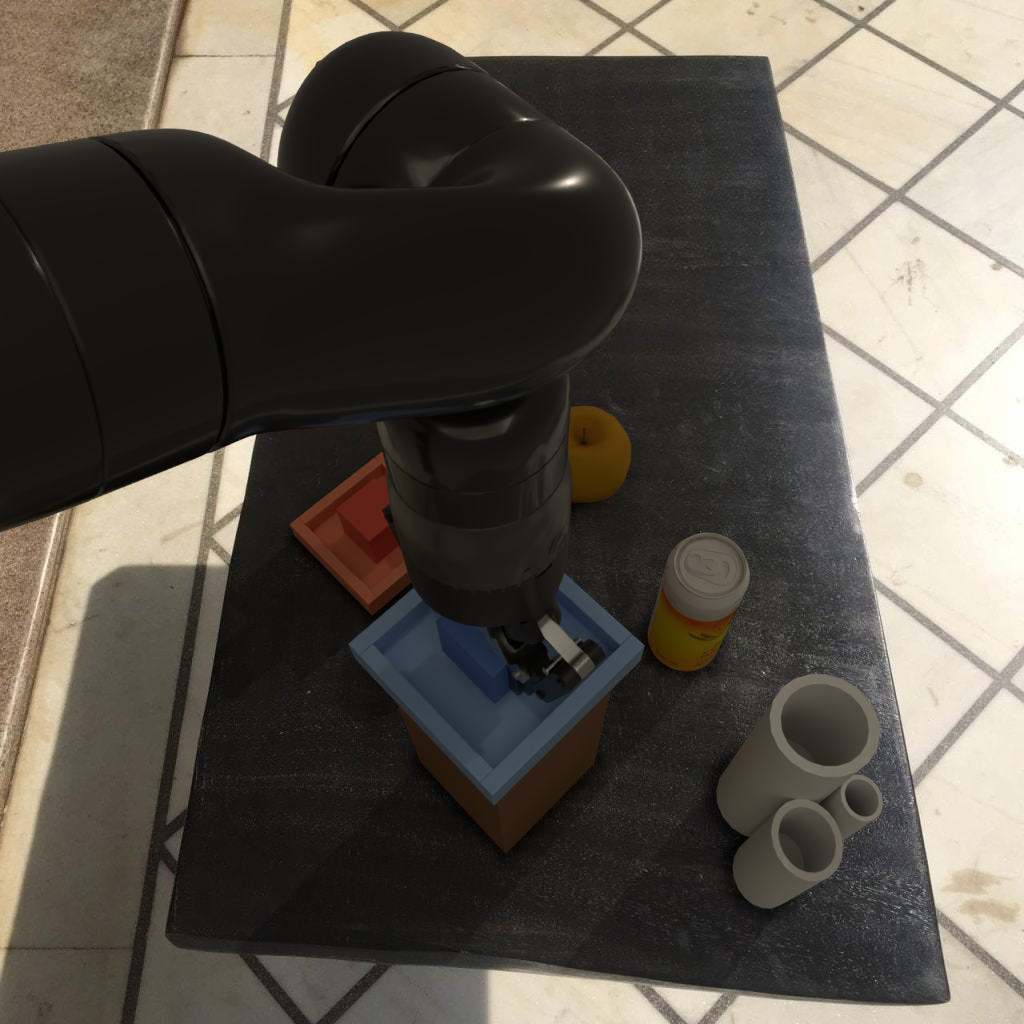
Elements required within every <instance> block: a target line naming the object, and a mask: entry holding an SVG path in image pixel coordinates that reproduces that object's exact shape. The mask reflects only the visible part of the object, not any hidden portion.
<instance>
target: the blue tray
mask: <svg viewBox="0 0 1024 1024" xmlns="http://www.w3.org/2000/svg"><path fill="white" fill-rule="evenodd" d="M555 599H556V601H557V603H558V605H559V607H560V610H561V613H562V620H561V623H560V625H559V626H560V627H561V628H562V629H563V631H564V632H565V633H566V634H567V635H568V636H569V637H570V638H571V639H573V638H574V637H576V636H579V637H580V638H581V639H582V640H583V642H584V641H586V640H587V639H591V640H593V641H595V642H596V643H598V644H599V645H600V646H601V647H602V649H603V651H604V653H605V655H606V658H605V659H604V660H603V661H602V662H601V663H599V664H598V665H597V666H596V667H595V668H594V669H593V670H592V671H591V672H590V673H589V674H588V675H587V676H586V677H585V678H584V679H583V680H582V681H581V682H580V683H579V684H578V685H577V686H576V687H575V688H574V689H573V690H572V691H571V692H569V693H567V694H566V695H564V696H562V697H560V698H558V699H556V700H554V701H552V702H550V703H546V702H544V701H543V700H540V699H539V698H538V697H537V696H536V694H535V692H534V693H533V694H532V695H531V696H528V695H527V694H526V693H525V692H523V693H522V694H520V695H519V696H517V695H516V694H515V693H514V692H513V691H512V690H510V691H509V692H508V693H506V694H505V695H504V696H503V697H502V698H501V699H500V700H499V701H498V702H497V703H494V702H493V701H492V700H491V699H490V698H489V697H488V696H487V695H486V694H485V693H484V692H483V691H482V690H481V689H480V688H479V687H478V686H477V685H476V684H475V683H474V682H473V681H472V680H471V679H470V678H469V677H468V676H467V675H466V674H465V673H464V672H463V671H462V670H461V669H460V668H459V667H458V666H457V665H456V664H455V663H454V662H453V661H452V660H451V659H450V658H449V657H448V656H447V655H446V654H445V653H444V652H443V651H442V647H441V643H440V638H439V634H438V629H437V625H436V621H437V620H438V619H439V618H440V617H441V615H440V614H438V613H437V612H435V611H434V610H433V609H431V608H430V607H429V606H428V605H427V604H426V603H425V602H424V601H423V600H422V599H421V597H420V596H419V595H418V594H417V592H416V590H415V589H414V587H413V588H412V589H411V590H409V591H408V592H407V593H405V595H403V597H401V598H400V599H399V600H397V601H396V602H395V603H394V604H393V605H392V606H391V607H390V608H388V609H387V610H386V611H385V612H384V613H383V614H381V615H380V616H379V617H378V618H377V619H376V620H374V621H373V622H372V623H371V624H369V626H367V627H366V628H365V629H364V630H363V631H361V632H360V633H359V634H358V635H357V636H356V637H354V638H353V639H352V640H351V641H350V642H349V643H348V647H349V649H350V651H351V653H352V655H353V658H354V659H355V660H356V661H357V663H358V664H360V665H361V667H362V668H363V669H364V670H365V671H366V672H367V673H368V674H369V675H370V676H371V677H372V678H373V679H374V680H375V681H376V683H377V684H378V685H379V686H380V687H381V688H382V689H383V690H384V691H385V692H386V693H387V694H388V695H389V696H390V697H391V698H392V699H393V701H394V702H395V703H396V705H397V707H398V710H399V712H400V715H401V717H402V719H403V722H404V725H405V727H406V730H407V733H408V735H409V736H410V739H411V742H412V744H413V747H414V749H415V752H416V755H417V757H418V759H419V762H420V764H421V765H423V767H424V768H425V769H426V770H427V771H428V772H429V773H430V774H431V775H432V776H433V778H434V779H435V780H436V781H437V782H438V783H439V784H440V785H441V787H443V788H444V789H445V790H446V791H447V793H448V794H449V795H450V796H451V797H452V798H453V799H454V800H455V801H456V802H457V803H458V804H459V805H460V807H461V808H462V809H463V810H464V811H465V812H466V813H467V814H468V815H469V816H470V817H471V818H472V820H474V822H475V823H476V824H477V825H478V826H479V827H480V828H481V829H482V831H484V832H485V834H486V835H488V837H489V838H490V839H491V840H492V841H493V842H494V844H496V845H497V846H498V848H500V850H501V851H502V852H503V853H504V854H507V853H508V852H509V851H510V850H511V849H512V848H513V847H514V846H515V845H516V844H517V843H518V842H519V841H520V840H521V839H522V838H523V837H524V836H525V835H526V834H527V833H528V832H529V831H530V830H531V829H532V828H533V827H534V826H535V825H536V824H537V823H538V822H539V821H540V820H541V819H542V818H543V817H544V815H546V814H547V813H548V812H549V810H551V808H552V807H554V805H556V803H557V802H559V801H560V800H561V798H562V797H563V796H564V795H565V794H566V793H567V792H568V791H570V789H571V788H572V787H573V786H574V785H575V784H576V783H577V782H578V781H579V780H580V779H581V778H582V777H583V776H584V775H585V774H586V773H587V772H588V771H589V770H590V769H591V768H592V767H593V766H594V765H595V763H596V758H597V753H598V749H599V744H600V739H601V734H602V729H603V725H604V720H605V716H606V713H607V712H606V711H607V706H608V701H609V696H610V693H611V691H612V690H613V689H614V688H615V686H617V685H618V684H619V683H620V682H621V681H622V680H623V679H624V677H626V676H627V675H628V674H629V673H630V672H631V671H632V670H633V669H634V668H635V667H636V666H637V665H638V664H639V663H640V662H641V660H642V656H643V653H644V649H645V645H644V644H643V643H642V642H641V641H640V640H639V639H638V638H637V637H636V636H634V635H633V634H632V633H631V632H630V630H628V629H627V628H626V627H624V626H623V625H622V624H621V623H620V622H619V621H618V620H617V619H616V618H615V617H613V616H612V615H611V614H610V613H609V612H608V611H607V610H605V608H603V607H602V606H601V605H600V603H598V602H596V600H595V599H594V598H593V597H591V596H590V595H589V594H588V593H586V591H584V590H583V589H582V588H581V587H580V586H579V585H578V584H577V583H576V582H575V581H574V580H572V579H571V578H570V577H569V576H568V575H567V574H566V573H564V576H563V579H562V581H561V584H560V586H559V589H558V591H557V593H556V596H555Z"/></svg>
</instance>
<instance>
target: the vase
mask: <svg viewBox="0 0 1024 1024" xmlns="http://www.w3.org/2000/svg"><path fill="white" fill-rule="evenodd" d="M880 737H881V729H880V723H879V717H878V714H877V712H876V710H875V708H874V707H873V704H872V703H871V701H870V699H869V698H868V697H867V696H866V695H865V694H864V693H863V692H862V691H861V690H860V689H859V688H858V687H857V686H855V685H853V684H851V683H850V682H849V681H846V680H845V679H843V678H841V677H836V676H834V675H829V674H826V673H823V674H819V673H817V674H816V673H813V674H812V673H810V674H809V673H808V674H806V675H802V676H799V677H795V678H793V679H792V680H791V681H789V682H788V683H786V684H785V685H784V686H782V687H781V688H780V690H779V691H778V692H777V694H776V695H775V697H774V698H773V699H772V701H771V703H770V704H769V706H768V707H767V709H766V710H765V711H764V713H763V714H762V716H761V717H760V719H759V720H758V722H757V723H756V725H755V726H754V727H753V728H752V730H751V732H750V733H749V734H748V736H747V738H746V739H745V740H744V742H743V743H742V745H741V746H740V748H739V749H738V751H737V752H736V753H735V755H734V756H733V758H732V759H731V761H730V762H729V764H728V765H727V767H726V768H725V770H724V771H723V772H722V774H721V776H720V777H719V779H718V783H717V786H716V790H715V791H716V804H717V806H718V809H719V812H720V814H721V816H722V818H723V819H724V820H725V821H726V823H727V824H728V825H729V826H730V827H731V828H732V829H733V830H735V831H736V832H738V834H740V835H742V836H745V837H748V838H747V839H746V840H745V841H744V842H743V843H742V844H741V845H740V846H739V847H738V849H737V850H736V852H735V854H734V856H733V862H732V874H733V875H732V876H733V880H734V882H735V884H736V887H737V889H738V891H739V892H740V893H741V895H742V896H743V898H744V899H745V900H746V901H748V902H749V903H750V904H752V905H753V906H756V907H758V908H760V909H774V908H777V907H779V906H782V905H783V904H785V903H787V902H789V901H790V900H792V899H794V898H795V897H797V896H799V895H801V894H803V893H804V892H806V891H807V890H809V889H811V888H813V887H815V886H816V885H818V884H820V883H821V882H823V881H824V880H827V879H829V878H830V877H831V876H832V875H833V874H834V873H835V872H836V871H838V869H839V867H840V864H841V862H842V861H843V853H844V843H843V842H844V841H845V840H846V839H848V838H849V837H851V836H852V835H854V834H855V833H857V832H858V831H860V830H861V829H862V828H864V827H866V826H867V825H869V824H870V823H872V822H873V821H875V820H876V819H877V818H878V817H879V816H880V815H881V814H882V813H881V812H882V811H883V806H884V800H883V795H882V792H881V790H880V788H879V786H878V785H877V784H876V783H875V781H873V780H872V779H871V778H869V777H868V776H866V775H862V774H856V773H858V772H859V771H860V770H862V769H863V768H864V767H865V766H866V765H867V764H868V763H870V762H871V760H872V759H873V756H874V755H875V753H876V752H877V750H878V747H879V741H880Z"/></svg>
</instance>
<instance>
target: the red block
mask: <svg viewBox="0 0 1024 1024" xmlns="http://www.w3.org/2000/svg"><path fill="white" fill-rule="evenodd" d="M388 504H389V498H388V493H387V488H386V487H384V486H383V485H382V484H381V483H380V482H379V481H378V480H377V479H376V478H374V479H373V480H372V481H370V482H369V483H368V484H367V485H365V486H364V487H363V488H362V489H360V490H359V491H358V492H357V493H355V494H354V495H353V496H352V497H350V498H349V499H348V500H347V501H345V502H344V503H343V504H342V505H340V506H339V507H338V508H336V510H337V513H338V516H339V519H340V521H341V524H342V527H343V529H344V532H345V534H346V535H347V536H348V537H349V538H350V539H351V540H352V541H353V542H355V543H356V544H357V545H358V546H359V547H360V548H361V549H362V550H363V551H364V552H365V553H366V554H367V555H368V556H369V557H370V558H371V559H372V560H373V561H374V562H375V563H376V564H377V563H379V562H380V561H381V560H382V559H383V558H385V557H386V556H387V555H388V554H389V553H391V552H392V551H393V550H394V549H395V548H397V547H398V546H399V545H398V543H397V541H396V539H395V537H394V535H393V533H392V531H391V529H390V527H389V524H388V522H387V521H386V519H385V518H384V514H383V512H382V509H383V508H384V507H386V506H387V505H388Z"/></svg>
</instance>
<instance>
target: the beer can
mask: <svg viewBox="0 0 1024 1024" xmlns="http://www.w3.org/2000/svg"><path fill="white" fill-rule="evenodd" d="M750 571H751V570H750V566H749V563H748V561H747V559H746V556H745V554H744V552H743V551H742V549H741V548H740V546H739V545H738V544H737V543H736V542H734V541H733V540H732V539H730V538H729V537H727V536H726V535H723V534H719V533H716V532H700V533H696V534H693V535H690V536H689V537H686V538H685V539H682V540H681V541H679V542H678V543H677V544H676V545H675V546H674V547H673V548H672V550H671V551H670V553H669V555H668V558H667V560H666V564H665V567H664V571H663V574H662V578H661V582H660V585H659V589H658V592H657V596H656V599H655V603H654V607H653V610H652V614H651V617H650V621H649V624H648V628H647V639H648V640H647V641H648V645H649V648H650V650H651V652H652V654H653V655H654V657H655V658H656V659H657V660H658V661H659V662H660V663H662V664H664V665H665V666H666V667H668V668H671V669H672V670H676V671H680V672H692V671H696V670H699V669H702V668H704V667H706V666H707V665H709V664H710V663H711V662H712V661H713V660H714V658H715V657H716V655H717V653H718V651H719V650H720V648H721V645H722V643H723V641H724V638H725V636H726V634H727V633H728V630H729V628H730V626H731V623H732V621H733V620H734V617H735V616H736V613H737V611H738V609H739V607H740V605H741V603H742V600H743V598H744V596H745V594H746V592H747V590H748V587H749V585H750V580H751V574H750V573H751V572H750Z"/></svg>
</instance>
